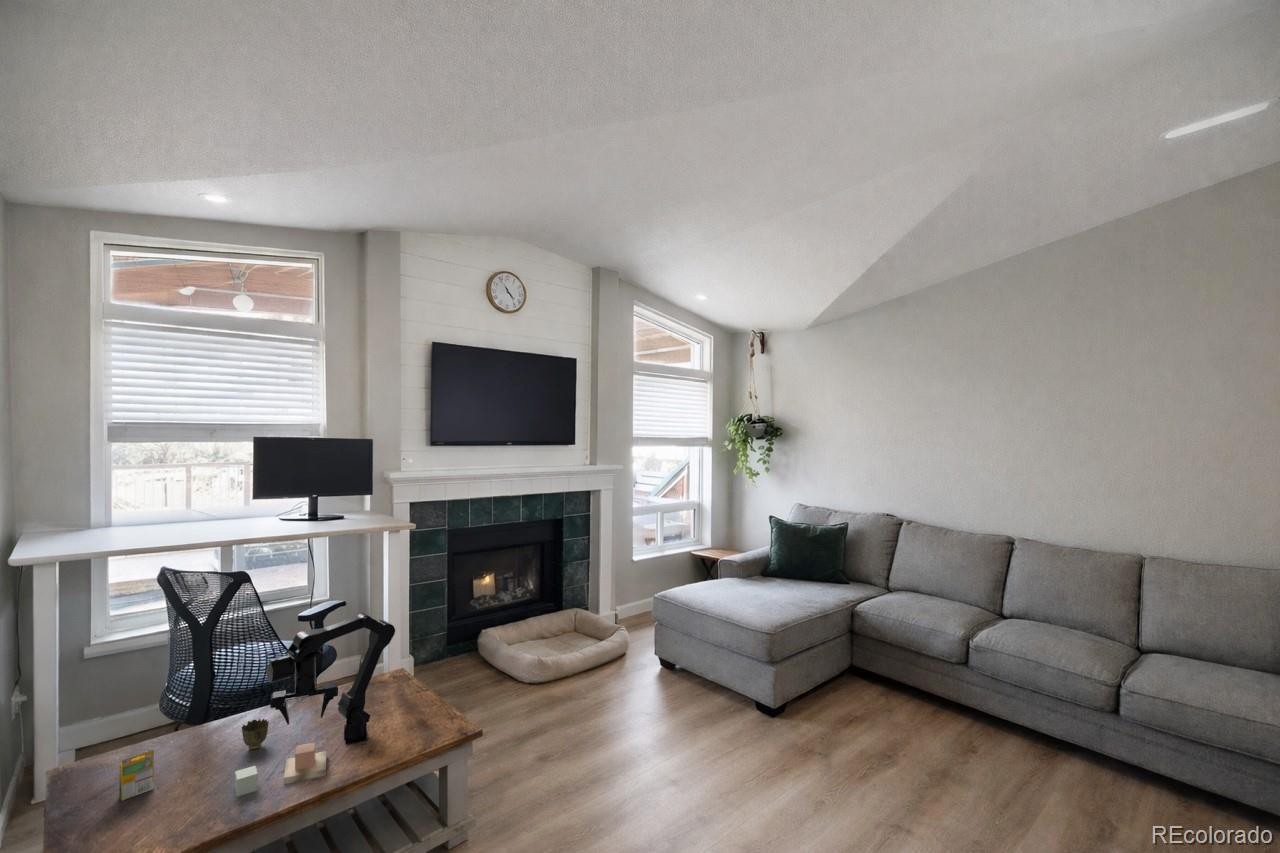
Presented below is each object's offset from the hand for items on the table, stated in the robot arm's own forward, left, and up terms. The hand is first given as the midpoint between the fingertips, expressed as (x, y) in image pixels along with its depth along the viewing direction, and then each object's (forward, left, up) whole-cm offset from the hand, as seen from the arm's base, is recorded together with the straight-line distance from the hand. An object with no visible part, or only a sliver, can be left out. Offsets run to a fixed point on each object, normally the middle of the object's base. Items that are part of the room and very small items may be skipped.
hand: (305, 720), depth 191 cm
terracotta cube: (-1, +8, -10) cm, 13 cm away
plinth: (-1, +8, -13) cm, 15 cm away
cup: (+15, -12, -12) cm, 23 cm away
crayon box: (+42, +2, -12) cm, 44 cm away
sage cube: (+14, +12, -12) cm, 22 cm away
